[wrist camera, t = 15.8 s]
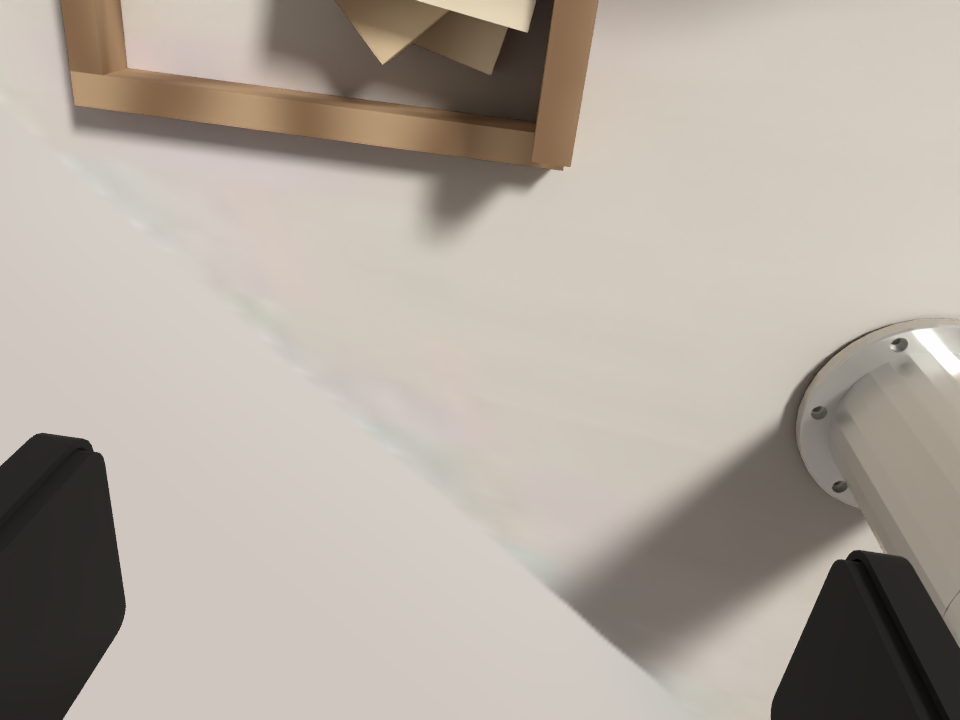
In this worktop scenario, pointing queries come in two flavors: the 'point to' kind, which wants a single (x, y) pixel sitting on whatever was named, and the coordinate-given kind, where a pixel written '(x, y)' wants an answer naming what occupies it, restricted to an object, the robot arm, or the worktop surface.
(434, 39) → the offcut bottom
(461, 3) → the offcut top
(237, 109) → the frame
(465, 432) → the worktop surface
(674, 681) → the worktop surface
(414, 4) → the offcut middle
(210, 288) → the worktop surface
